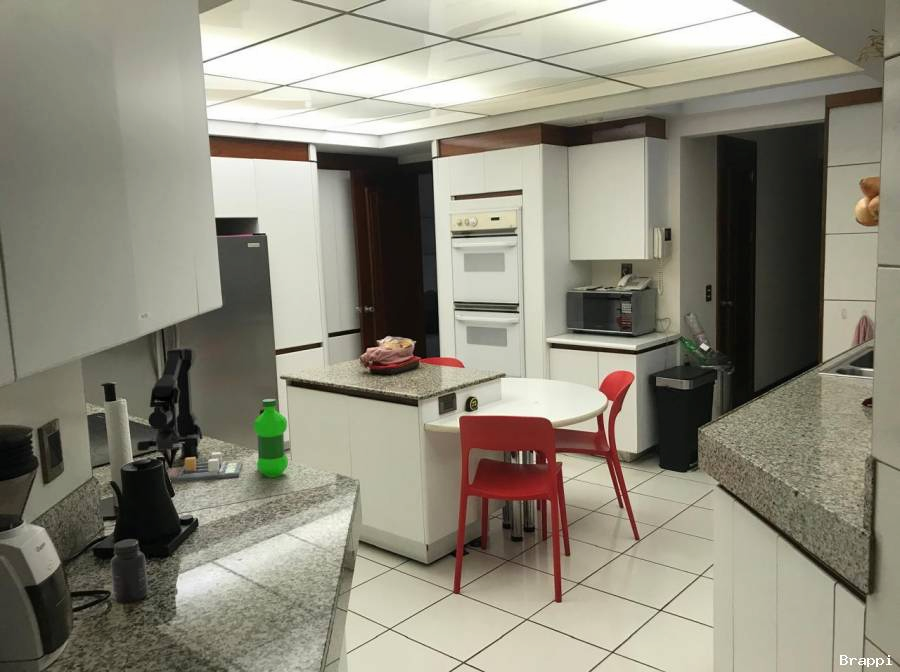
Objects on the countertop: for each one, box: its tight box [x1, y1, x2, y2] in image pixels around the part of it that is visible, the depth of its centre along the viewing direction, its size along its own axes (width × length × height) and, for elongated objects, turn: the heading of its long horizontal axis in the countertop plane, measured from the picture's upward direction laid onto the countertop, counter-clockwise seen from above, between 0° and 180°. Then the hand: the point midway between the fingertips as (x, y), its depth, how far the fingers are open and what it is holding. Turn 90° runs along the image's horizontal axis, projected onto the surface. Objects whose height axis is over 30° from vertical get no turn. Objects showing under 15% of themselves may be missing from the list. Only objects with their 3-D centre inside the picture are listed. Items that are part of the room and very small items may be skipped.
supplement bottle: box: [109, 538, 149, 604], centre depth 154 cm, size 7×7×12 cm
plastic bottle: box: [253, 398, 289, 478], centre depth 236 cm, size 10×10×25 cm
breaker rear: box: [210, 451, 223, 466], centre depth 245 cm, size 3×3×4 cm
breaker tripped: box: [184, 457, 197, 471], centre depth 239 cm, size 3×3×4 cm
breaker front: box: [207, 458, 219, 473], centre depth 237 cm, size 3×3×4 cm
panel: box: [166, 460, 243, 483], centre depth 240 cm, size 13×24×2 cm, turn 101°
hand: (171, 467), depth 238 cm, fingers closed
